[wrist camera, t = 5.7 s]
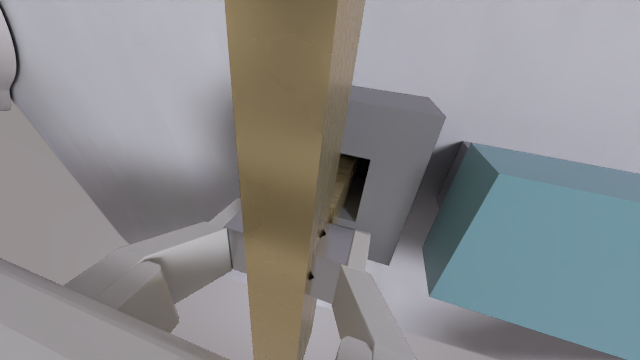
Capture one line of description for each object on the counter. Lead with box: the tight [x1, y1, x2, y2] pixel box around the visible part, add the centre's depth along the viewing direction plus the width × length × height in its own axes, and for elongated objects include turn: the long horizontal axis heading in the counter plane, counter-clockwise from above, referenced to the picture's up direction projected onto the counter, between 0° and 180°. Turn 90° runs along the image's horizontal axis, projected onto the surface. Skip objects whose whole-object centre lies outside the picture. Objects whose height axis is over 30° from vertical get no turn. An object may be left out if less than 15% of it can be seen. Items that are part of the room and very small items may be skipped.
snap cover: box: [422, 143, 640, 360], centre depth 8 cm, size 10×6×3 cm, turn 83°
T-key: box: [225, 0, 365, 360], centre depth 11 cm, size 14×2×10 cm, turn 173°
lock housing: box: [337, 86, 471, 266], centre depth 12 cm, size 18×8×5 cm, turn 83°
